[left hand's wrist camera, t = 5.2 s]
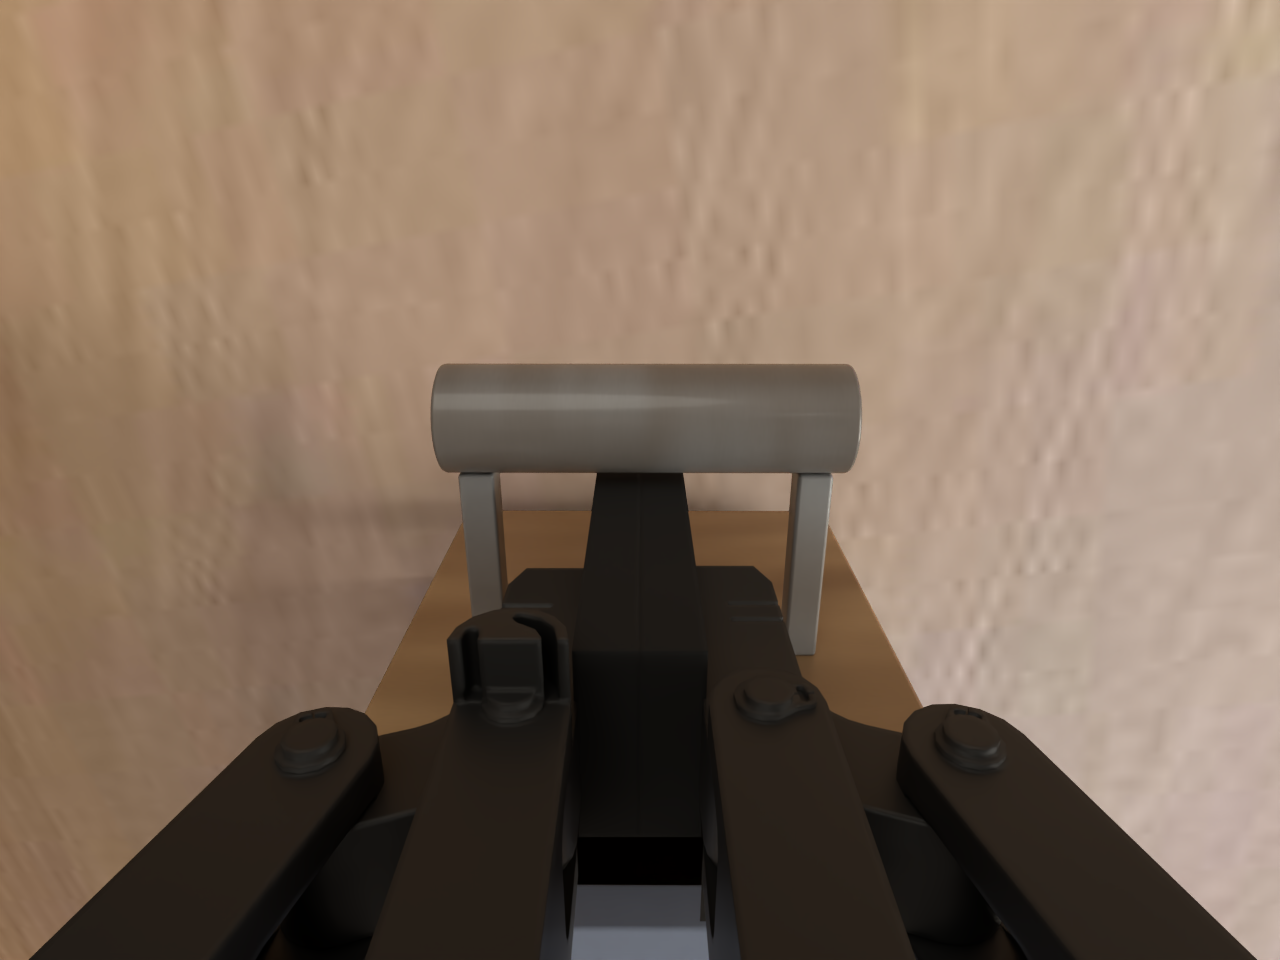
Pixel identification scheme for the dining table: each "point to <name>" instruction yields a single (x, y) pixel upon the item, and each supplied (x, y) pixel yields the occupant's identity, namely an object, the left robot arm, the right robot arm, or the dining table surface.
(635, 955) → the cabinet
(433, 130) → the dining table surface
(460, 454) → the drawer
